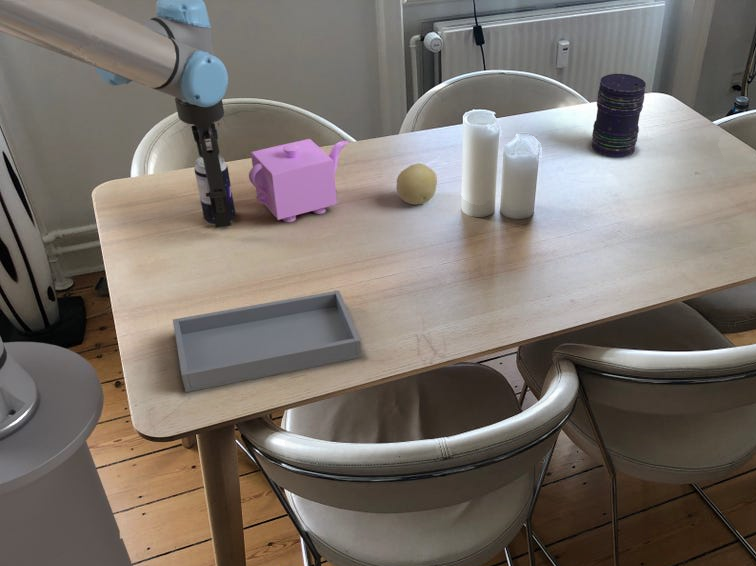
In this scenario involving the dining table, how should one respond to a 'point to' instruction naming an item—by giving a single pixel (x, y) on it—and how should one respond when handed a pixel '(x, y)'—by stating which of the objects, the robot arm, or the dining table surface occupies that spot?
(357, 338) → the tray
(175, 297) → the dining table surface
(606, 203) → the dining table surface
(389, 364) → the dining table surface
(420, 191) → the potato
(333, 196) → the teapot
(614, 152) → the dark blue cylinder
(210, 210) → the beverage can
